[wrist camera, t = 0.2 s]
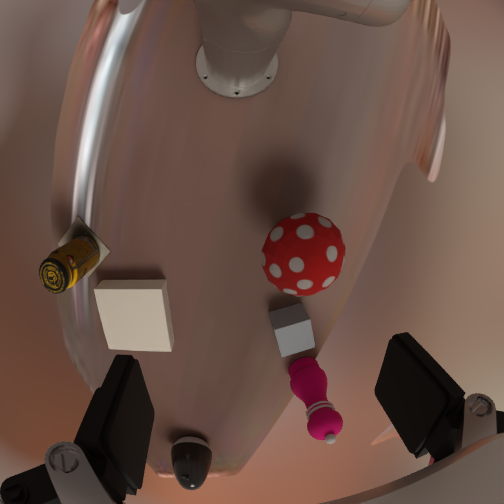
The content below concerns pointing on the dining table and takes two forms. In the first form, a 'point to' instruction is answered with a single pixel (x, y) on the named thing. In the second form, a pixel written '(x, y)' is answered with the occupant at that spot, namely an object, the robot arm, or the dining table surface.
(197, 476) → the dark grey domed cylinder
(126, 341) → the cream block
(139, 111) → the dining table surface
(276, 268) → the decorative mushroom
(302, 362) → the pepper mill
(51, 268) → the condiment
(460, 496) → the robot arm
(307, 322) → the slate cube
